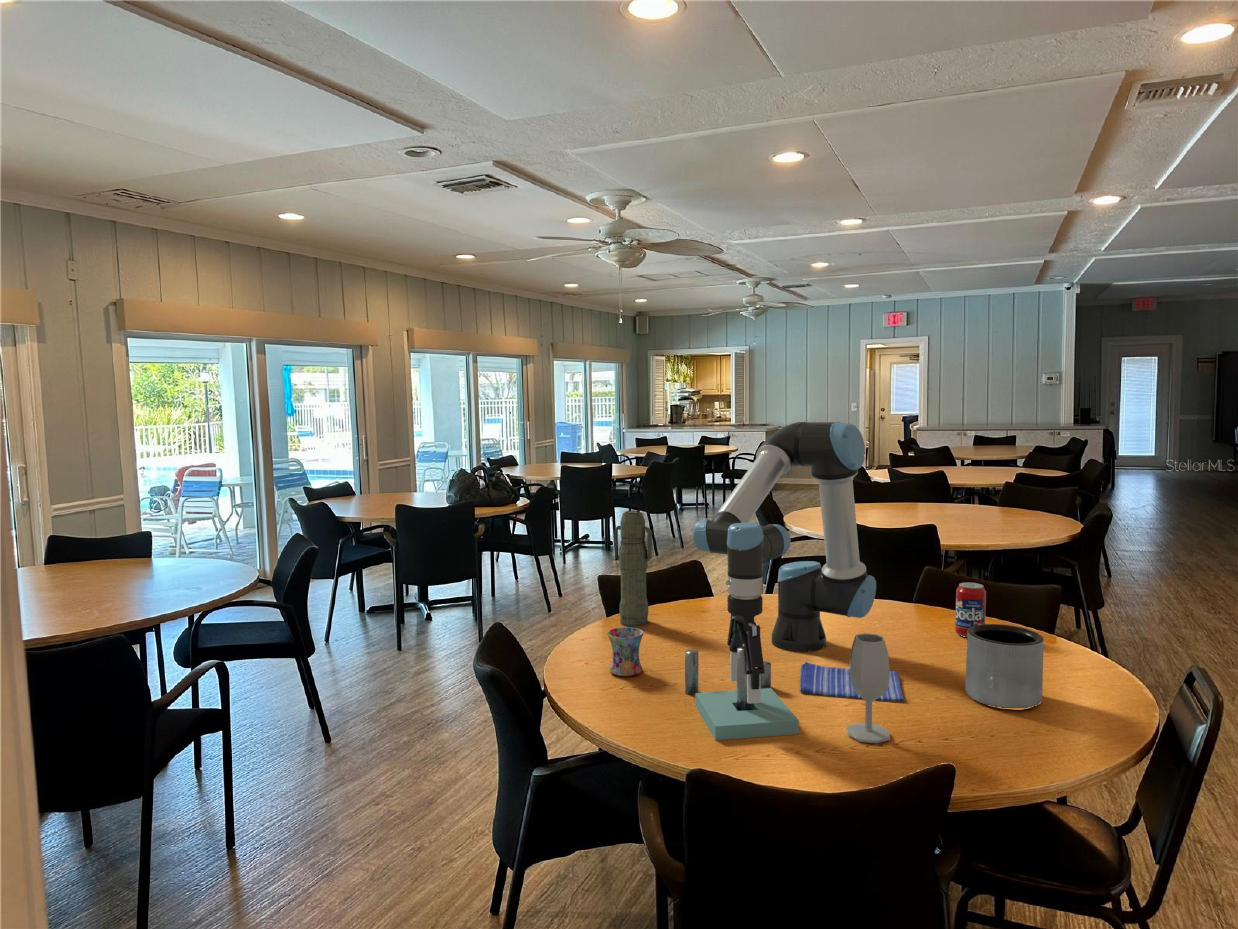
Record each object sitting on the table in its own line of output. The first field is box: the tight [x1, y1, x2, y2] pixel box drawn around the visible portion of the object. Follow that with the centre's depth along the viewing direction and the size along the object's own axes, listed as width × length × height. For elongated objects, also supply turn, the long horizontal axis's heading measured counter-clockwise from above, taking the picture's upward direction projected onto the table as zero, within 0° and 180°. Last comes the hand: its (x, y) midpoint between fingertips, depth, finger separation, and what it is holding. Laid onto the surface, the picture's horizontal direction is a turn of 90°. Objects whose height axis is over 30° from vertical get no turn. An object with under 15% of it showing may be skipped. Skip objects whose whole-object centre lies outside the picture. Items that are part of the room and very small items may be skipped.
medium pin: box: [684, 649, 700, 696], centre depth 188 cm, size 3×3×10 cm
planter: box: [964, 623, 1045, 708], centre depth 181 cm, size 16×16×16 cm
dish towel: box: [799, 661, 905, 703], centre depth 191 cm, size 17×24×3 cm
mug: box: [607, 626, 645, 677], centre depth 203 cm, size 12×9×11 cm
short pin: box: [761, 660, 772, 689], centre depth 190 cm, size 3×3×6 cm
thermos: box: [613, 510, 653, 628], centre depth 243 cm, size 9×12×35 cm
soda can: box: [954, 581, 987, 638], centre depth 227 cm, size 8×8×15 cm
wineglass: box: [847, 632, 891, 744], centre depth 162 cm, size 9×9×21 cm
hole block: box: [694, 687, 800, 741], centre depth 172 cm, size 18×18×3 cm
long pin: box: [736, 645, 752, 711], centre depth 172 cm, size 3×3×16 cm
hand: (744, 691), depth 172 cm, fingers open, 12 cm apart
